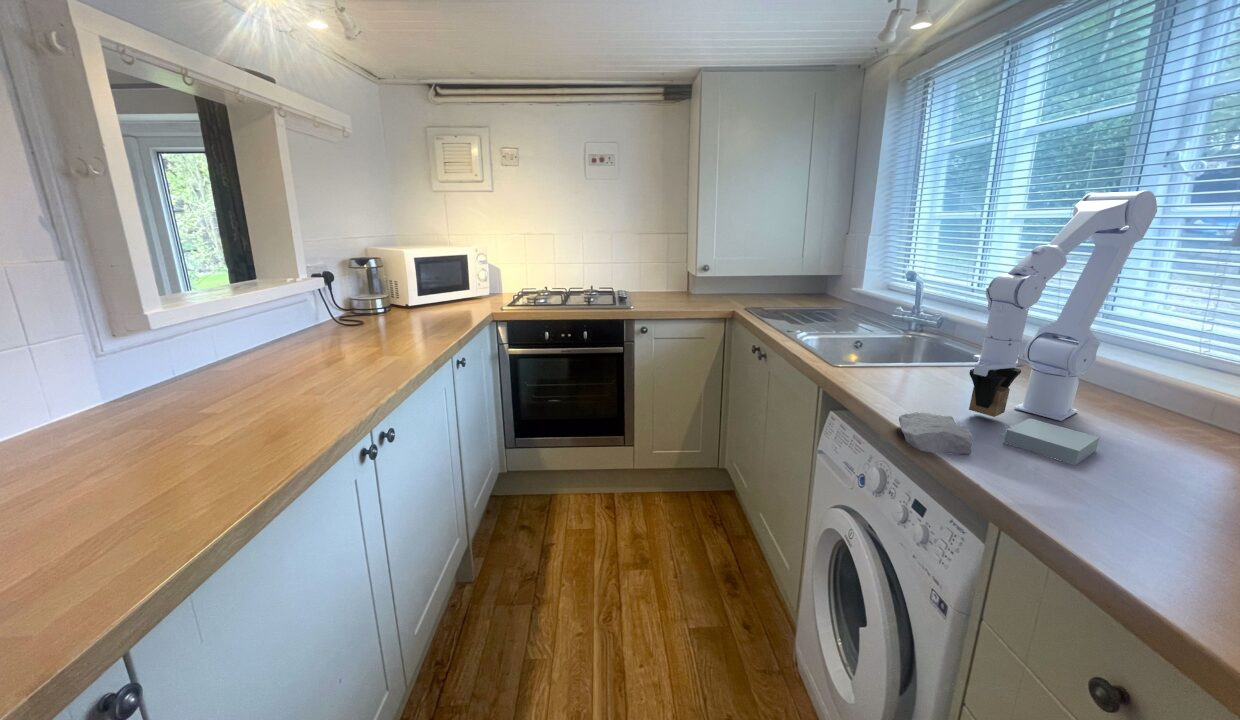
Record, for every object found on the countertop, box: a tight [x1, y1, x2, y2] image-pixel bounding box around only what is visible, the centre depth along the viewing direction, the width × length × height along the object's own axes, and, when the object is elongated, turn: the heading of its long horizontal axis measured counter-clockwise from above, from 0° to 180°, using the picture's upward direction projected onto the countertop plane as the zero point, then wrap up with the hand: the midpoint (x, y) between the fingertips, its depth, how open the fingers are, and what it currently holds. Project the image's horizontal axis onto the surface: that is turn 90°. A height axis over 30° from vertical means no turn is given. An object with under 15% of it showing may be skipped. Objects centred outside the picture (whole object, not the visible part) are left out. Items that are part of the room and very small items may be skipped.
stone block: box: [898, 411, 974, 456], centre depth 90 cm, size 12×5×10 cm
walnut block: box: [968, 386, 1011, 418], centre depth 99 cm, size 4×4×5 cm
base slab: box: [1003, 417, 1100, 466], centre depth 88 cm, size 10×10×3 cm
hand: (988, 404), depth 99 cm, fingers closed on walnut block, 4 cm apart
